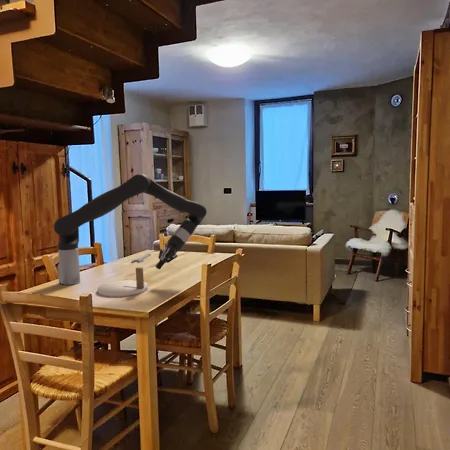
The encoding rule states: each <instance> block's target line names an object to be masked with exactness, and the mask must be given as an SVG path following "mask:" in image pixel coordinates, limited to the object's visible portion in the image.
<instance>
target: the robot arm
mask: <svg viewBox="0 0 450 450" xmlns="http://www.w3.org/2000/svg"><path fill="white" fill-rule="evenodd" d="M140 194H147V195H150V196H152V197H154V198H155V199H158V200H159V201H161V202H162V203H164V204H165V205H167V206H169V207H170V208H172V209H173V210H176V211H178V212H179V213H186V214H189V215H187V217H186V219H184V220H183V221H182V223H181V224H180V225H179V227H178V228H177V229H176V230H175V231H174V233H173V234H172V235H171V236H170V238H169V239H168V240H167V245H166V247H164V249H162V248H161V249H160V250H159V254H158V256H157V257H158V258H157V259H159V260H158V261H157V263H156V265H155V268H156V269H157V270H161V268H162V267H163V266H164V265H165V264H169V263H170V262H172V261H173V260H175V259H176V258H177V257H178V255H177V253H178V252H180V251H182V249H183V248H184V247H185V245H186V244H187V243H188V241H189V239H190V238H191V236H193V235H192V234H193V233H194V232H196V229H197V227H198V226H199V225H200V224H201V223H202V221H203V220H204V219H205V217H206V215H207V213H208V212H207V208H206V207H205V206H204V204H203V205H202V204H201V203H199V202H197V201H194V200H190V199H186V198H185V197H184V196H181V195H179V194H178V193H176V192H173V191H172V190H169V189H167V188H166V187H164V186H162V185H161V184H159V183H157V182H156V181H154V180H153V179H152V178H150V177H149V176H148V175H147V174H144V173H138V174H134V175H133V176H132V177H130V178H128V179H127V180H126V181H124V183H122V184H120V185H118V186H117V187H115V188H112V189H110V190H108V191H106V192H103V193H102V194H100V195H98V196H96V197H95V198H93V199H92V200H90V201H88V202H87V203H85V204H83V206H81V207H80V208H78V209H76V210H75V211H72V212H71V213H68V214H66V215H63V216H60V217H59V218H57V219H56V221H54V224H53V230H54V232H55V233H56V234H57V235H59V241H58V244H57V252H58V262H59V263H58V264H57V272H58V274H57V275H58V284H60V283H61V284H60V285H62V284H64V286H70V285H76V284H79V283H81V273H80V272H81V270H80V259H79V257H80V255H79V242H80V233H79V232H80V229H79V227H81V226H83V225H84V224H86V223H90V222H91V221H94V220H96V219H99V218H101V217H104V216H106V215H107V214H108V213H111V212H112V211H114V210H115V209H117V208H118V207H119V206H121V205H122V204H123V203H125V202H126V201H127V200H130V198H133V197H135V196H138V195H140Z"/></svg>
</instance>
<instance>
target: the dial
mask: <svg viewBox="0 0 450 450" xmlns="http://www.w3.org/2000/svg"><path fill="white" fill-rule="evenodd" d="M144 279H145V278H144V267H142V266H140V267H135V280H130V279H128V280H117V281H111V282H108V283H104V284H102V285H99V286H98V287H97V294H98V295H100V296H104V297H110V298H111V297H112V298H120V297H122V298H123V297H129V296H137V295H140V294H142V293H146V292H147V291H148V289H149V284H148V282H146V281H144Z"/></svg>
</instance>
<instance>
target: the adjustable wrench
mask: <svg viewBox="0 0 450 450" xmlns="http://www.w3.org/2000/svg"><path fill="white" fill-rule="evenodd" d="M151 256H152V254H151V253H146V254H144V255H142V256H140V257H139V258H135V259H132V260H131V263H132V264H134V263H137V262H138V263H143V262H144V260H145V259H147V258H148V257H151Z"/></svg>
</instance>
